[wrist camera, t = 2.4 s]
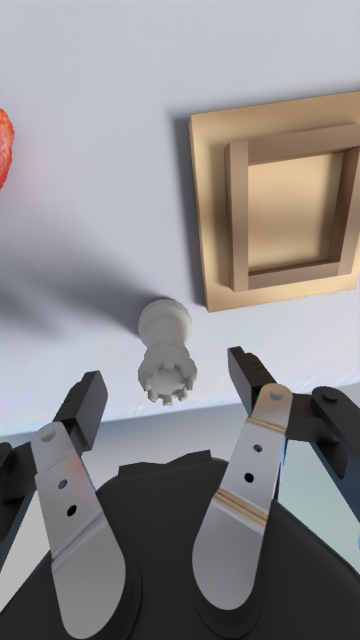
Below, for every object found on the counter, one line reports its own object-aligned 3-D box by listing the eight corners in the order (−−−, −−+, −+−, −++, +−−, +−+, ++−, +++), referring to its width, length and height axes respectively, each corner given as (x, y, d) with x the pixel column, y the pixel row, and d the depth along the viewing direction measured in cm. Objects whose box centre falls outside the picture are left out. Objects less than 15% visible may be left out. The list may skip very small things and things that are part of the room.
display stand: (188, 124, 13) (194, 103, 11) (380, 96, 13) (424, 70, 11) (205, 307, 18) (211, 318, 16) (343, 285, 18) (368, 293, 16)
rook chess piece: (173, 286, 17) (184, 333, 10) (200, 328, 19) (225, 395, 11) (127, 314, 17) (104, 378, 10) (157, 352, 19) (155, 430, 12)
